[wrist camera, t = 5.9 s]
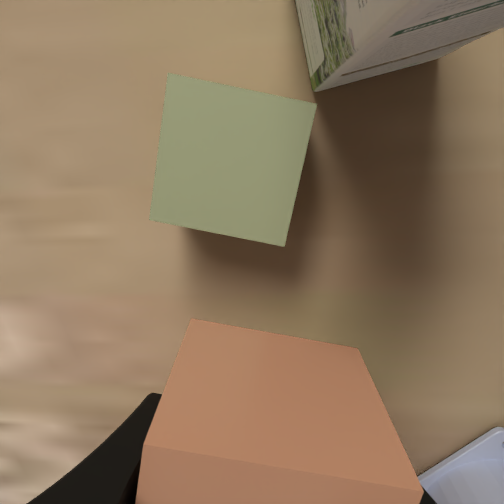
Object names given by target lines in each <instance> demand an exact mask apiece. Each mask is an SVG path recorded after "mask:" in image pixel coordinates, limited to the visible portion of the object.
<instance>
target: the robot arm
mask: <svg viewBox="0 0 504 504" xmlns="http://www.w3.org/2000/svg"><path fill="white" fill-rule="evenodd" d="M161 396H162V394H157V393H151V394H149V395H148V396H147V397H146V398H145V399H144V400H143V402H142V403H141V404H140V405H139V406H138V407H137V409H136V410H135V411H134V412H133V413H132V414H131V415H130V416H129V417H128V418H127V419H126V420H125V421H124V422H123V423H122V425H121V426H119V427H118V428H117V429H116V430H115V431H114V432H113V433H112V434H111V435H110V436H109V437H108V438H107V439H106V440H105V441H104V442H103V443H102V444H101V445H100V446H99V447H98V448H96V449H95V450H94V451H93V452H92V453H91V454H90V455H88V456H87V457H86V458H85V459H84V460H83V461H82V462H80V463H79V464H78V465H77V466H76V467H75V468H73V469H72V470H71V471H70V472H69V473H67V474H66V475H65V476H64V477H62V478H61V479H60V480H58V481H57V482H56V483H55V484H53V485H52V486H51V487H49V488H48V489H47V490H45V491H44V492H43V493H41V494H40V495H38V496H37V497H36V498H34V499H33V500H31V501H30V502H28V503H27V504H135V502H136V495H137V487H138V480H139V473H140V465H141V458H142V451H143V444H144V441H145V439H146V436H147V433H148V431H149V428H150V426H151V423H152V420H153V418H154V415H155V412H156V410H157V407H158V404H159V402H160V399H161ZM503 442H504V428H503V427H495V428H493V429H491V430H490V431H488V432H487V433H485V434H484V435H482V436H480V437H479V438H477V439H476V440H474V441H473V442H471V443H470V444H468V445H466V446H465V447H463V448H462V449H460V450H459V451H457V452H455V453H454V454H452V455H451V456H449V457H448V458H446V459H445V460H443V461H441V462H440V463H438V464H437V465H435V466H434V467H432V468H431V469H429V470H427V471H426V472H424V473H423V474H421V475H420V476H418V477H417V478H418V480H419V482H420V484H421V486H422V488H423V491H424V493H423V495H422V498H421V500H420V503H419V504H504V443H503Z"/></svg>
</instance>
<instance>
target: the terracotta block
mask: <svg viewBox="0 0 504 504" xmlns="http://www.w3.org/2000/svg"><path fill="white" fill-rule="evenodd" d="M423 493H424V491H423V488H422V486H421V484H420V482H419V480H418V478H417V475H416V473H415V471H414V469H413V467H412V465H411V463H410V460H409V458H408V456H407V454H406V452H405V450H404V447H403V445H402V443H401V441H400V439H399V437H398V434H397V432H396V430H395V428H394V426H393V424H392V421H391V419H390V417H389V415H388V413H387V411H386V409H385V406H384V404H383V402H382V400H381V398H380V396H379V393H378V391H377V389H376V387H375V385H374V383H373V380H372V378H371V376H370V374H369V372H368V370H367V367H366V365H365V363H364V361H363V359H362V357H361V354H360V352H359V350H358V348H353V347H348V346H342V345H337V344H331V343H326V342H320V341H314V340H309V339H303V338H298V337H292V336H287V335H281V334H275V333H270V332H264V331H259V330H253V329H247V328H242V327H236V326H231V325H225V324H220V323H214V322H208V321H203V320H197V319H192V318H191V320H190V323H189V325H188V328H187V330H186V333H185V336H184V338H183V341H182V344H181V346H180V349H179V352H178V354H177V357H176V359H175V362H174V365H173V367H172V370H171V373H170V375H169V378H168V381H167V383H166V386H165V389H164V391H163V394H162V396H161V399H160V402H159V404H158V407H157V410H156V412H155V415H154V418H153V420H152V423H151V426H150V428H149V431H148V433H147V436H146V439H145V441H144V444H143V451H142V458H141V465H140V473H139V480H138V487H137V495H136V502H135V504H419V503H420V500H421V498H422V495H423Z"/></svg>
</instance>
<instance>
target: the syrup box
mask: <svg viewBox="0 0 504 504" xmlns="http://www.w3.org/2000/svg"><path fill="white" fill-rule="evenodd" d="M295 4H296V9H297V14H298V18H299V23H300V28H301V33H302V39H303V44H304V49H305V54H306V59H307V64H308V69H309V75H310V80H311V86H312V90H313V91H315V92H318V91H322V90H325V89H329V88H333V87H337V86H340V85H344V84H348V83H351V82H355V81H359V80H362V79H366V78H370V77H373V76H377V75H381V74H384V73H388V72H392V71H396V70H399V69H403V68H407V67H411V66H414V65H418V64H421V63H425V62H428V61H432V60H435V59H438V58H441V57H443V56H445V55H447V54H449V53H451V52H453V51H455V50H457V49H459V48H461V47H462V46H464V45H466V44H468V43H470V42H472V41H474V40H477V39H479V38H481V37H483V36H485V35H487V34H489V33H491V32H494V31H496V30H498V29H500V28H503V27H504V0H295Z"/></svg>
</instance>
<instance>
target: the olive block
mask: <svg viewBox="0 0 504 504" xmlns="http://www.w3.org/2000/svg"><path fill="white" fill-rule="evenodd" d="M316 107H317V104H315V103H310V102H306V101H301V100H296V99H291V98H286V97H282V96H277V95H272V94H267V93H263V92H258V91H253V90H248V89H243V88H239V87H234V86H229V85H224V84H219V83H215V82H210V81H205V80H200V79H195V78H191V77H186V76H181V75H176V74H172V73H168V76H167V84H166V92H165V100H164V108H163V115H162V123H161V131H160V139H159V147H158V155H157V162H156V170H155V178H154V186H153V194H152V201H151V209H150V217H149V220H152V221H157V222H162V223H167V224H172V225H177V226H182V227H187V228H192V229H197V230H202V231H207V232H212V233H217V234H222V235H227V236H232V237H237V238H242V239H247V240H252V241H257V242H262V243H267V244H273V245H278V246H283V247H285V242H286V238H287V233H288V229H289V225H290V220H291V216H292V212H293V207H294V203H295V198H296V194H297V190H298V185H299V181H300V177H301V172H302V168H303V163H304V159H305V155H306V150H307V146H308V142H309V137H310V133H311V128H312V124H313V120H314V115H315V111H316Z"/></svg>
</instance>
